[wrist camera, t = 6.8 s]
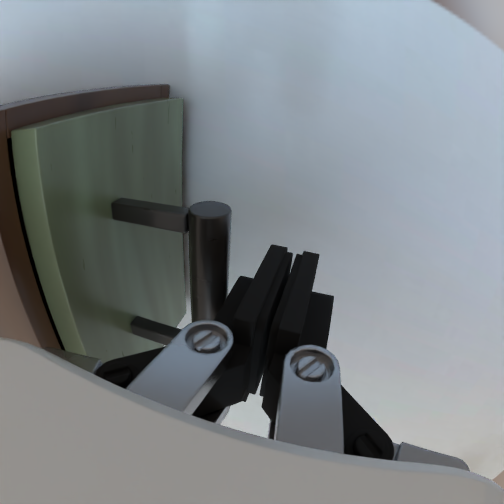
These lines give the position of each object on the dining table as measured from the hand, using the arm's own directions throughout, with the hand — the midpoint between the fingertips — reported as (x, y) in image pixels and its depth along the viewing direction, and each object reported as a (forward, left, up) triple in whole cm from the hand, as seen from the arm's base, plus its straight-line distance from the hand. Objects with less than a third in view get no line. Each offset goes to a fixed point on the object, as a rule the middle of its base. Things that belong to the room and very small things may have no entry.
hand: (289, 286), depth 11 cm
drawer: (+12, -2, -3) cm, 12 cm away
